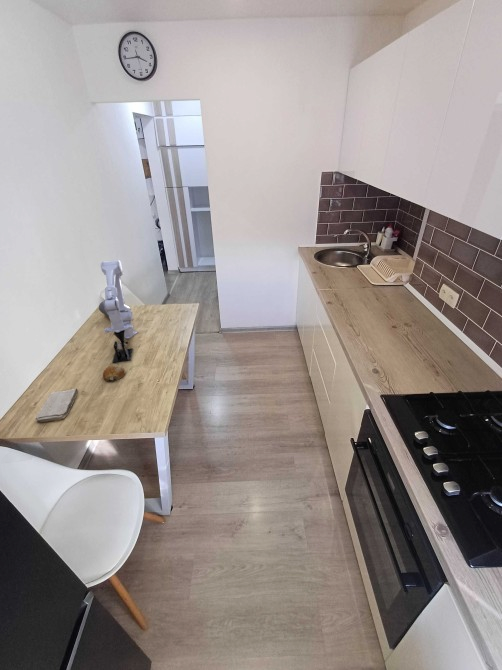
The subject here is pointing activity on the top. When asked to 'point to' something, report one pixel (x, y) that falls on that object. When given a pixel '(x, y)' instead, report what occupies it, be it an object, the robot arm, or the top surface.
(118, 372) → the bread roll
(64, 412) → the washcloth
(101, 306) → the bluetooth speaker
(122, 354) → the tap bracket
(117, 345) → the tap lever
